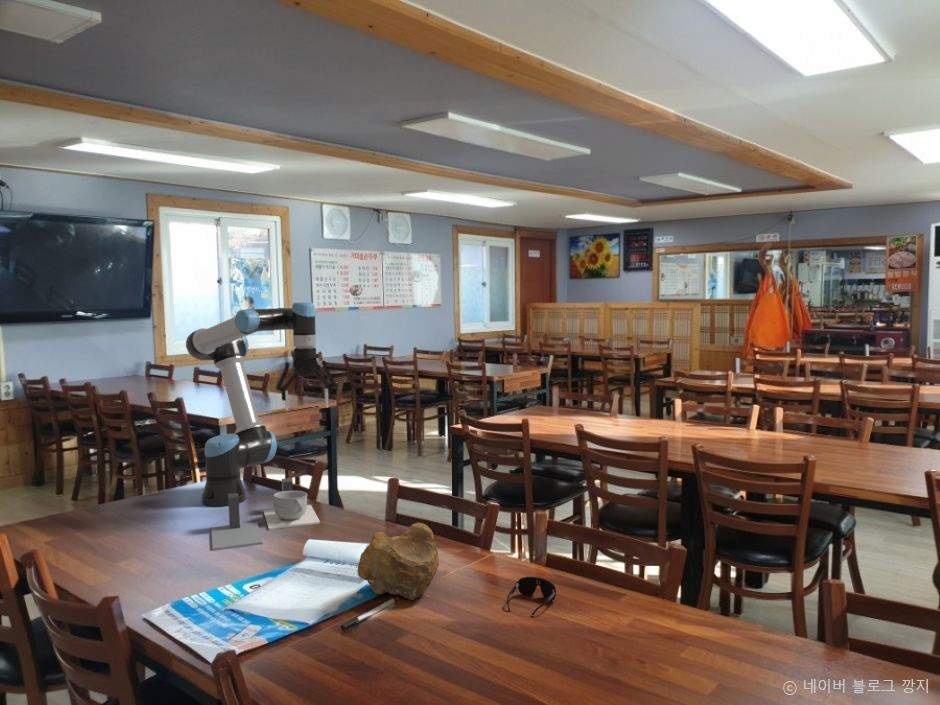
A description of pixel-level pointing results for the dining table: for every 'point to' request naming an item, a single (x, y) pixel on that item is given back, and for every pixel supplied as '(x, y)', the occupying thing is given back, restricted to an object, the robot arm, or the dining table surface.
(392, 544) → the rough brown rock
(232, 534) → the gray post stand
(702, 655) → the dining table surface
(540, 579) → the sunglasses
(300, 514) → the teacup
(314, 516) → the grey plate with post
